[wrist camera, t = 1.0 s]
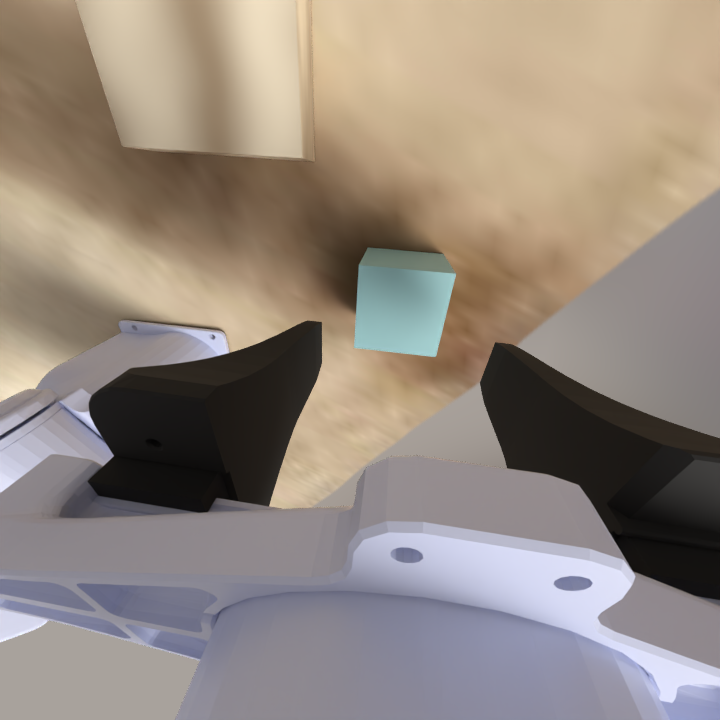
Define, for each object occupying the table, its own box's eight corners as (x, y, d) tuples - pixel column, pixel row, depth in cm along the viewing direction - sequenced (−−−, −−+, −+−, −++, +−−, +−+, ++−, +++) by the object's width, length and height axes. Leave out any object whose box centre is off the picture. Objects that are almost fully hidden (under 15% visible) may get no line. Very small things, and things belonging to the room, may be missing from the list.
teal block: (363, 315, 21) (354, 347, 17) (368, 247, 19) (358, 265, 14) (428, 322, 21) (435, 357, 17) (443, 253, 18) (456, 273, 14)
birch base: (156, 151, 17) (122, 146, 15) (76, -144, 12) (5, -217, 10) (314, 161, 16) (302, 158, 14) (307, -148, 11) (285, -226, 9)
